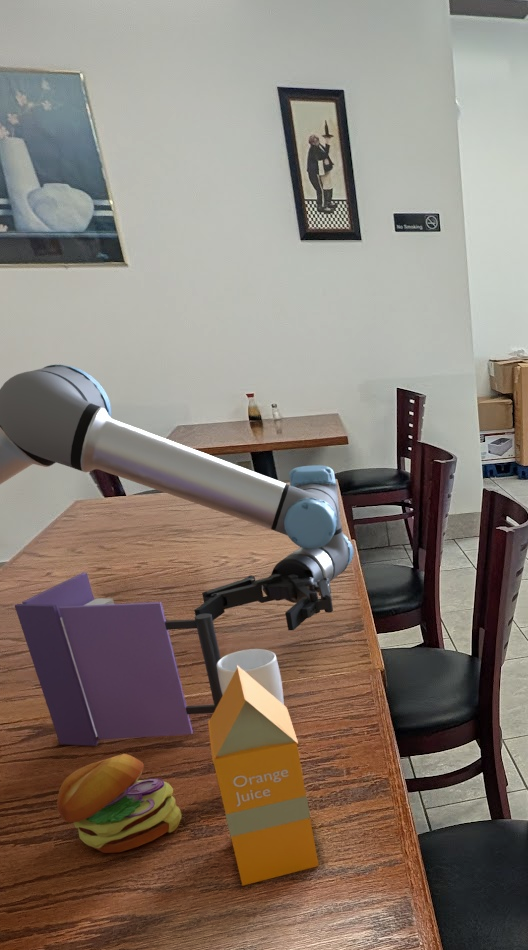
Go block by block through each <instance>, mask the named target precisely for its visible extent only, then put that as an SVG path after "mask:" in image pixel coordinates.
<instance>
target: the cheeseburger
mask: <svg viewBox="0 0 528 950" xmlns="http://www.w3.org/2000/svg"><path fill="white" fill-rule="evenodd" d="M144 768H145V765H144V763H143V762H142V761H141V760H140V759H138V758H136V757H135V756H133V755H130V754H127V753H122V754H118V755H114V756H112V757H108V758H105V759H102V760H99V761H95V762H93V763H90V764H87V765H85V766H83V767H80V768H79V769H77V770H74V771H73V772H72V773H70V774H69V775H68V776H67V777H66V778H65V779H64V780H63V782H62V784H61V786H60V787H59V789H58V795H57V801H56V808H57V811H58V813H59V817H60V818H61V820H62V821H64V822H66V823H71V824H72V823H73V825H74V828H75V829H77V831H78V837H79V839H80V841H82V842H83V843H84V844H85V845H87V846H89V847H91V848H93V849H95V850H96V851H99V852H101V853H103V854H111V853H112V854H113V853H122V852H126V851H128V850H133V849H135V848H138V847H140V846H143V845H145V844H148V843H150V842H153V841H154V840H156V839H158V838H160V837H162V836H164V835H165V834H167V833H168V834H170V833H173V832H174V831H175V830H177V829H178V827H179V825H180V823H181V820H182V817H183V814H182V811H181V809H180V807H179V806H178V804H177V803H176V798H175V797H174V795H173V793H174V789H173V787H172V786H171V784H170V783H168V782H167V781H164V780H163V779H162V778H148V779H140V778H141V776H142V774H143V770H144ZM139 779H140V780H139Z"/></svg>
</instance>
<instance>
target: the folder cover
mask: <svg viewBox="0 0 528 950" xmlns="http://www.w3.org/2000/svg"><path fill="white" fill-rule="evenodd" d="M59 610H60V613H61V617H62V620H63V623H64V626H65V630H66V633H67V636H68V640H69V643H70V646H71V650H72V653H73V656H74V659H75V663H76V666H77V669H78V673H79V676H80V679H81V683H82V686H83V689H84V693H85V696H86V699H87V702H88V706H89V709H90V712H91V716H92V719H93V722H94V726H95V729H96V732H97V735H98V736H97V740H99V741H100V740H116V739H134V738H135V739H137V738H153V737H171V736H188V735H192V734H193V733H194V731H193V727H192V722H191V718H190V715H202V714H213V713H214V711H215V709H216V707H217V705H218V704H219V702H220V700H221V698H222V692H221V688H220V683H219V677H218V671H217V662H218V661H219V660H220V659H221V658H222V657H221V652H220V648H219V643H218V638H217V634H216V629H215V625H214V620H212V615H211V614H207V613H205V614H199V615H197V616H196V615H195V616H194V619H178V620H167V619H166V616H165V611H164V607H163V603H162V601H155V602H154V601H153V602H132V603H130V602H129V603H114V604H107V605H85V606H62V607H60V608H59ZM188 629H189V630H190V629H191V630H192V629H196V630H197V635H198V639H199V644H200V648H201V652H202V657H203V661H204V665H205V670H206V674H207V679H208V684H209V688H210V692H211V696H212V701H213V704H200V705H187V702H186V698H185V693H184V690H183V686H182V680H181V676H180V672H179V668H178V665H177V661H176V656H175V653H174V649H173V644H172V641H171V636H170V633H169V630H188Z"/></svg>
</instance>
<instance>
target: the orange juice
mask: <svg viewBox="0 0 528 950" xmlns="http://www.w3.org/2000/svg"><path fill="white" fill-rule="evenodd" d="M207 722H208V723H207V727H208V736H209V743H210V750H211V751H210V753H211V760H212V763H213V765H214V770H215V771H214V772H215V779H216V782H217V783H218V787H219V792H220V796H221V800H222V804H223V809H224V814H225V819H226V823H227V828H228V832H229V836H230V838H231V843H232V847H233V851H234V856H235V860H236V864H237V869H238V873H239V877H240V881H241V886H242V887H243V886H248V885H250V884H254V883H259V882H262V881H266V880H270V879H273V878H278V877H281V876H285V875H289V874H293V873H296V872H297V873H298V872H300V871H304V870H305V871H306V870H309V869H312V868H316V867H319V865H320V864H319V859H318V853H317V849H316V842H315V837H314V831H313V826H312V821H311V813H310V809H309V808H310V807H309V802H308V796H307V791H306V787H305V781H304V774H303V773H304V772H303V767H302V764H301V758H300V752H299V751H300V750H299V748H298V744H299V741H298V738H297V734H296V732H295V727H294V726H293V722H292V719H291V716H290V713H289V710H288V707H287V706H286V705H285V704H284V705H283V704H282V703H281V702H280V701H279V700H277V699H276V698H275V697H274V696H273V695H272V694H270V693H269V692H268V691H267V690H266V689H265V688H264V687H262V686H261V685H260V684H259V683H258V682H257V681H255V680H254V679H253V678H252V677H251V676H250V675H248V674H247V673H246V672H245V671H244V670H243V669H241V668H240V667H239V666H238V665H237V669H236V671H235V673H234V675H233V677H232V679H231V681H230V683H229V685H228V686H227V688H226V690H225V692H224V694H223V696H222V698H221V700H220V702H219V704H218V705H217V707H216V709H215V711H214V713H212V715H211V717H210V719H209V720H207Z"/></svg>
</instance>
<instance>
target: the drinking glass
mask: <svg viewBox="0 0 528 950" xmlns="http://www.w3.org/2000/svg"><path fill="white" fill-rule="evenodd" d="M237 665H238V666H239V667H240V668H241V669H243V670H244V671H245V672H246V673H247V674H248V675H250V676H251V677H252V678H253V679H254V680H255V681H257V682H258V683H259V684H260V685H261V686H262V687H264V688H265V689H266V690H267V691H268V692H269V693H270V694H272V695H273V696H274V697H275V698H276V699H277V700H279V701H280V702H281V703H282V704H283V705H284V706H285V698H284V689H283V681H282V675H281V671H280V666H279V662H278V659H277V655H276V653H275V652H273V651H271V650H268V649H263V648H251V649H249V648H248V649H243V650H238V651H234V652H231V653H228V654H226V655H224V656H223V657H221V659H220V660H219V661H218V662H217V671H218V677H219V683H220V688H221V692H222V696H223V694H224V692H225V690H226V688H227V686H228V685H229V683H230V681H231V679H232V677H233V675H234V673H235V671H236V669H237Z"/></svg>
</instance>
